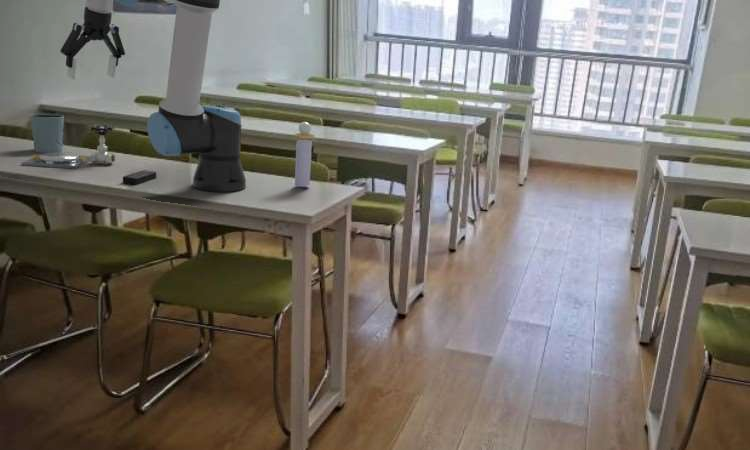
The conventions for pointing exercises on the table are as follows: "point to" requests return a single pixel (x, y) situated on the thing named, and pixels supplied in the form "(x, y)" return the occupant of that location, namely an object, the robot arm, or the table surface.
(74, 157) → the lock plate
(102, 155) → the valve
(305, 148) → the perfume bottle
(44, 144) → the blue-grey cup
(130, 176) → the multiport hub
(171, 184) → the table surface
